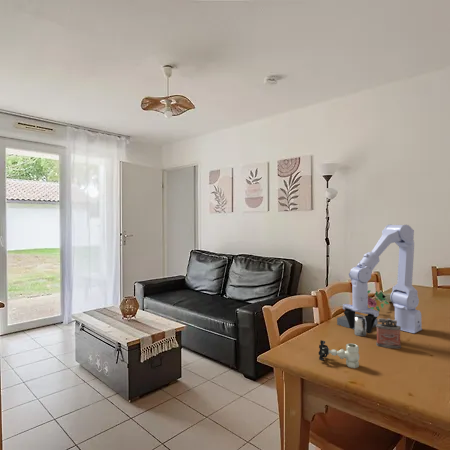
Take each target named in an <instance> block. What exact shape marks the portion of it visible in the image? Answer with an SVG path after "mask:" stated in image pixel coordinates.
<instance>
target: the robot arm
mask: <svg viewBox="0 0 450 450" xmlns="http://www.w3.org/2000/svg"><path fill="white" fill-rule="evenodd" d="M414 235H415V230H414V229H413V228H412V227H411V226H410V225H409V224H387V225H385V226H384V229H382V230H381V236H380V238H379V239H378V241H377V242H376V244H375V245H374V247H373V248H372V249H371V251H367V252H366V253H364V254H363V257H362V259H360V260H359V262H358V263H357V265H356V266H354V267H352V268H350V271H349V273H348V277H349V279H350V281H351V285H352V286H351V287H352V290H351V291H352V292H351V293H352V295H351V297H352V300H351V301H352V303H351V304H348V303H343V304H342V310H344V311H343V315H345V316H346V318H347V320H348V323H349V327H350V328H349V329H352V328H354V316H355V314H356V313H360V314H364V316H365V319H366V324H367V330H366V334H371V333H372V330H373V328H374V327H373V324H374V322H375V320H376V319H378V317H379V316H380V311H378V310H377V309H371V307H369V305H368V298H369V295H368V290H369V289H368V288H369V287H368V283H369V281H371V279H372V274H373V270H374V269H375V267H376V266H377V265H378V264H379V262H380V256H381V255H383V253H384V252H385V251H386V249H387V248H388V247H389V246H390V245H391V244H393V243H395V244H396V245H397V247H398V248H399V249H398V266H397V281H396V284H395V285H393V286H392V291H391V292H390V293H391V295H390V299H391V302H390V303H392V304H393V307H394V320H397V326H400V327H401V329H400V331H401V332H403V331H404V332H406V333H410V334H416V333H418V332H420V331H422V330H423V328H422V327H423V326H422V324H423V323H422V312H421V310H419V309H416V308H417V307H418V306H419V303H420V300H419V295H418V290H417V289H416V288H415V287H414V286H413V270H414V253H415V240H414ZM372 327H373V328H372ZM352 330H353V329H352Z"/></svg>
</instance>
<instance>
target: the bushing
mask: <svg viewBox="0 0 450 450" xmlns="http://www.w3.org/2000/svg"><path fill="white" fill-rule="evenodd" d="M364 316H365V315H363V316H354V328H355V329H354V335H355V336H356V337H357V336H358V337H366V336H367V330H366V319H365V317H364Z"/></svg>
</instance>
